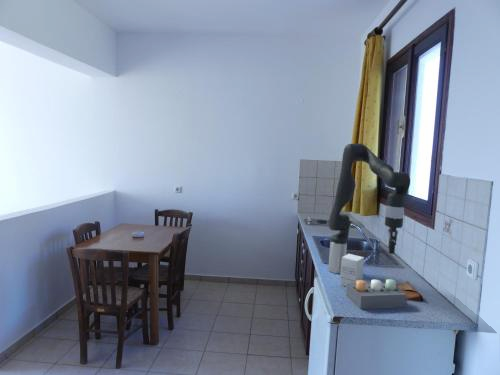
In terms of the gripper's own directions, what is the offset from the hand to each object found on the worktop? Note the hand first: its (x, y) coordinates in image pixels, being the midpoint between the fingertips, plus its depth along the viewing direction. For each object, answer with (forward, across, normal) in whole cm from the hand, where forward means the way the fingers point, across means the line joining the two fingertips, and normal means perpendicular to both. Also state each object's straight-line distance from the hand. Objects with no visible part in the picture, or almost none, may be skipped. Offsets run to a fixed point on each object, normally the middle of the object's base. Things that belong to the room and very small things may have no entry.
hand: (391, 250), depth 159 cm
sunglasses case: (+26, -16, +10) cm, 32 cm away
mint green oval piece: (+21, -3, +1) cm, 21 cm away
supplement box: (+25, -15, -17) cm, 34 cm away
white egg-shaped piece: (+21, +1, -5) cm, 21 cm away
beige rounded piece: (+20, +5, -12) cm, 24 cm away
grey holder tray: (+25, +1, -5) cm, 25 cm away
